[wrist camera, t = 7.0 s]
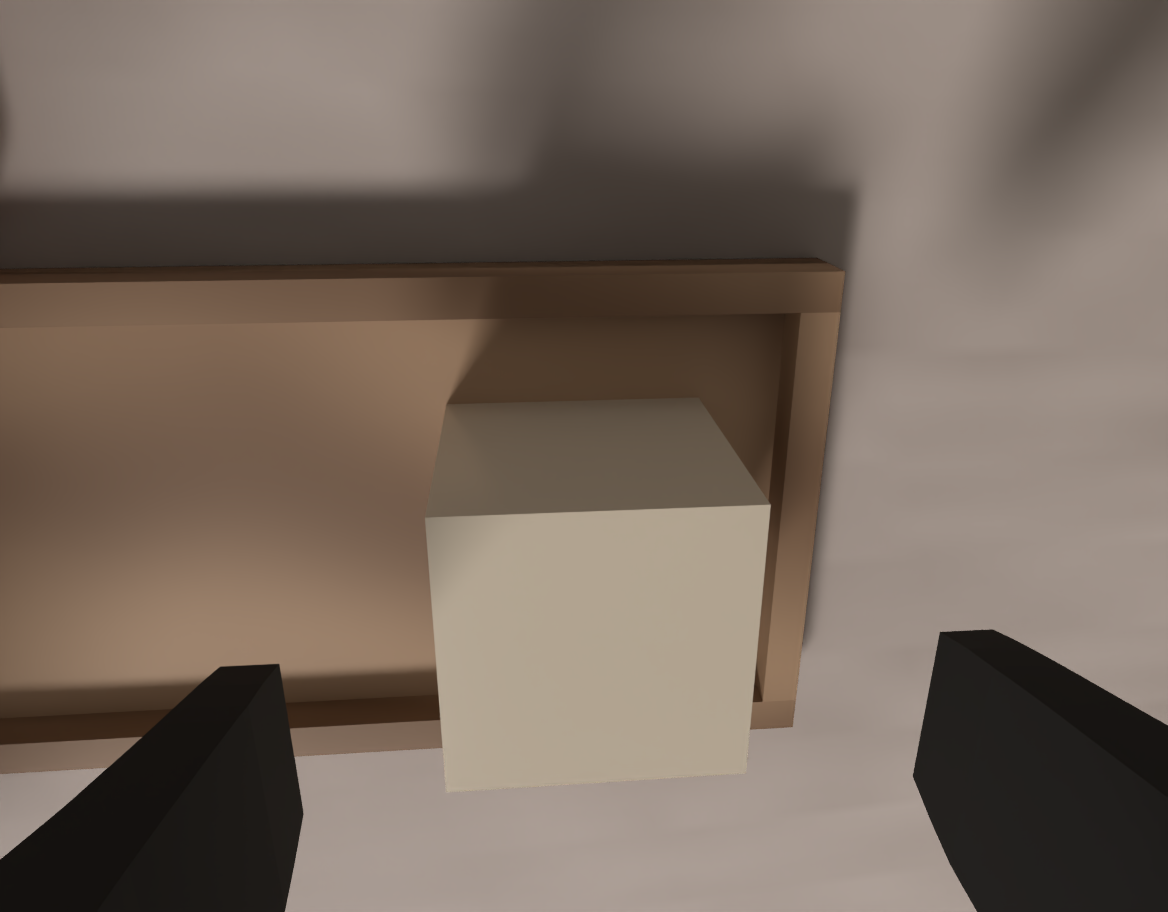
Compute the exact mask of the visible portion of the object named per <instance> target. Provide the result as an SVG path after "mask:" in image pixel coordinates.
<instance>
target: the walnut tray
mask: <svg viewBox="0 0 1168 912" xmlns="http://www.w3.org/2000/svg"><path fill="white" fill-rule="evenodd" d="M844 278H845V271H843V270H841V269H839V268H837V267H835V266H833V265H831V264H829V263H827V262H825V261H823V260H821V259H818V258H774V259H700V260H625V261H551V262H477V263H402V264H328V265H253V266H179V267H105V268H30V269H0V774H9V773H26V772H42V771H59V770H76V769H93V768H108V767H109V766H111V765H112V764H113V763H114V762H115V761H116V760H117V759H118V758H119V757H121V756H122V755H123V754H124V753H125V752H126V751H127V750H128V749H130V748H131V747H132V746H133V745H134V744H135V743H136V742H137V741H138V740H139V739H141V738H142V737H143V736H144V735H145V734H146V733H147V732H148V731H149V730H150V729H151V728H153V727H154V726H155V725H156V724H157V723H158V722H159V721H160V720H161V719H162V718H163V717H164V716H166V715H167V714H168V713H169V712H170V711H171V710H172V709H173V708H174V707H175V706H176V705H177V704H179V703H180V702H181V701H182V700H183V699H184V698H185V697H186V696H187V695H188V694H189V693H191V692H192V691H193V690H194V689H195V688H196V687H197V686H198V685H199V684H200V683H202V682H203V681H204V680H205V679H206V678H207V677H208V676H210V675H211V674H212V673H213V672H214V671H215V670H217V669H218V668H219V667H221V666H242V665H263V664H279V665H280V671H281V677H282V683H283V689H284V696H285V702H286V708H287V714H288V721H289V727H290V733H291V739H292V745H293V752H294V757H295V756H312V755H329V754H346V753H363V752H380V751H396V750H413V749H430V748H443V746H442V733H441V720H440V707H439V694H438V681H437V668H436V655H435V642H434V629H433V616H432V603H431V590H430V577H429V564H428V551H427V538H426V525H425V515H426V509H427V504H428V499H429V494H430V488H431V483H432V478H433V472H434V467H435V462H436V457H437V451H438V446H439V441H440V435H441V430H442V425H443V419H444V414H445V409H446V404H475V403H512V402H549V401H586V400H624V399H661V398H698V397H699V399H700V400H701V402H702V403H703V405H704V406H705V408H706V409H707V411H708V412H709V414H710V415H711V417H712V418H713V420H714V421H715V423H716V424H717V426H718V427H719V429H720V430H721V432H722V433H723V435H724V436H725V437H726V439H727V440H728V442H729V443H730V445H731V446H732V448H733V449H734V451H735V452H736V454H737V455H738V457H739V458H740V460H741V461H742V463H743V464H744V466H745V467H746V469H747V470H748V472H749V473H750V475H751V476H752V478H753V479H754V481H755V482H756V483H757V485H758V486H759V488H760V489H761V491H762V492H763V494H764V495H765V497H766V498H767V500H768V501H769V503H770V504H771V508H770V519H769V529H768V540H767V551H766V562H765V573H764V583H763V594H762V605H761V616H760V627H759V637H758V648H757V659H756V670H755V681H754V691H753V702H752V713H751V724H750V729H767V728H784V727H793V718H794V710H795V701H796V692H797V684H798V675H799V667H800V658H801V649H802V641H803V632H804V623H805V615H806V606H807V598H808V589H809V580H810V572H811V563H812V554H813V546H814V537H815V528H816V520H817V511H818V503H819V494H820V485H821V477H822V468H823V459H824V451H825V442H826V434H827V425H828V416H829V408H830V399H831V390H832V382H833V373H834V364H835V356H836V347H837V339H838V330H839V321H840V313H841V304H842V295H843V287H844Z"/></svg>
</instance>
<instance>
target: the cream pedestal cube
mask: <svg viewBox="0 0 1168 912" xmlns="http://www.w3.org/2000/svg"><path fill="white" fill-rule="evenodd" d="M770 508H771V504H770V503H769V501H768V500H767V498H766V497H765V495H764V494H763V492H762V491H761V489H760V488H759V486H758V485H757V483H756V482H755V481H754V479H753V478H752V476H751V475H750V473H749V472H748V470H747V469H746V467H745V466H744V464H743V463H742V461H741V460H740V458H739V457H738V455H737V454H736V452H735V451H734V449H733V448H732V446H731V445H730V443H729V442H728V440H727V439H726V437H725V436H724V435H723V433H722V432H721V430H720V429H719V427H718V426H717V424H716V423H715V421H714V420H713V418H712V417H711V415H710V414H709V412H708V411H707V409H706V408H705V406H704V405H703V403H702V402H701V400H700V399H699V397H698V398H661V399H624V400H586V401H549V402H512V403H475V404H446V409H445V414H444V419H443V425H442V430H441V435H440V441H439V446H438V451H437V457H436V462H435V467H434V472H433V478H432V483H431V488H430V494H429V499H428V504H427V509H426V515H425V525H426V538H427V551H428V564H429V577H430V590H431V603H432V616H433V629H434V642H435V655H436V668H437V681H438V694H439V707H440V720H441V733H442V746H443V759H444V772H445V785H446V792H460V791H476V790H492V789H508V788H523V787H539V786H555V785H571V784H586V783H602V782H618V781H634V780H649V779H665V778H681V777H696V776H712V775H728V774H744V773H746V767H747V756H748V745H749V735H750V724H751V713H752V702H753V691H754V681H755V670H756V659H757V648H758V637H759V627H760V616H761V605H762V594H763V583H764V573H765V562H766V551H767V540H768V529H769V519H770Z"/></svg>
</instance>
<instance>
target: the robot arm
mask: <svg viewBox="0 0 1168 912" xmlns="http://www.w3.org/2000/svg"><path fill="white" fill-rule="evenodd" d="M913 778H914V780H915V783H916V785H917V788H918V790H919V793H920V795H921V798H922V800H923V803H924V805H925V807H926V810H927V812H928V815H929V817H930V820H931V822H932V825H933V827H934V829H935V831H936V834H937V836H938V838H939V840H940V843H941V845H942V847H943V849H944V852H945V854H946V856H947V858H948V860H949V863H950V865H951V866H952V868H953V870H954V872H955V874H956V875H957V877H958V879H959V881H960V883H961V884H962V886H963V888H964V890H965V891H966V893H967V895H968V897H969V898H970V900H971V902H972V904H973V905H974V907H975V909H976V911H977V912H1168V725H1166V724H1164V723H1162V722H1161V721H1159V720H1157V719H1155V718H1153V717H1152V716H1150V715H1148V714H1146V713H1145V712H1143V711H1141V710H1139V709H1138V708H1136V707H1134V706H1132V705H1131V704H1129V703H1127V702H1125V701H1124V700H1122V699H1120V698H1118V697H1117V696H1115V695H1113V694H1111V693H1109V692H1108V691H1106V690H1104V689H1102V688H1101V687H1099V686H1097V685H1095V684H1094V683H1092V682H1090V681H1088V680H1087V679H1085V678H1083V677H1081V676H1080V675H1078V674H1076V673H1074V672H1073V671H1071V670H1069V669H1067V668H1066V667H1064V666H1062V665H1060V664H1058V663H1057V662H1055V661H1053V660H1051V659H1049V658H1048V657H1046V656H1044V655H1042V654H1040V653H1038V652H1037V651H1035V650H1033V649H1031V648H1029V647H1027V646H1025V645H1023V644H1021V643H1020V642H1018V641H1016V640H1014V639H1012V638H1010V637H1007V636H1005V635H1003V634H1001V633H999V632H997V631H995V630H973V631H952V632H940V635H939V640H938V646H937V651H936V656H935V662H934V667H933V672H932V677H931V683H930V688H929V693H928V699H927V704H926V709H925V715H924V720H923V725H922V730H921V736H920V741H919V746H918V752H917V757H916V762H915V768H914V773H913ZM302 819H303V808H302V801H301V795H300V789H299V783H298V776H297V770H296V764H295V758H294V752H293V745H292V739H291V733H290V727H289V721H288V714H287V708H286V702H285V696H284V689H283V683H282V677H281V671H280V665H279V664H263V665H242V666H221V667H219V668H218V669H217V670H215V671H214V672H213V673H212V674H211V675H210V676H208V677H207V678H206V679H205V680H204V681H203V682H202V683H200V684H199V685H198V686H197V687H196V688H195V689H194V690H193V691H192V692H191V693H189V694H188V695H187V696H186V697H185V698H184V699H183V700H182V701H181V702H180V703H179V704H177V705H176V706H175V707H174V708H173V709H172V710H171V711H170V712H169V713H168V714H167V715H166V716H164V717H163V718H162V719H161V720H160V721H159V722H158V723H157V724H156V725H155V726H154V727H153V728H151V729H150V730H149V731H148V732H147V733H146V734H145V735H144V736H143V737H142V738H141V739H139V740H138V741H137V742H136V743H135V744H134V745H133V746H132V747H131V748H130V749H128V750H127V751H126V752H125V753H124V754H123V755H122V756H121V757H119V758H118V759H117V760H116V761H115V762H114V763H113V764H112V765H111V766H109V767H108V768H107V769H106V770H105V771H104V772H103V773H102V774H100V775H99V776H98V777H97V778H96V779H95V780H94V781H93V782H91V783H90V784H89V785H88V786H87V787H86V788H85V789H84V790H83V791H81V792H80V793H79V794H78V795H77V796H76V797H75V798H74V799H72V800H71V801H70V802H69V803H68V804H67V805H66V806H64V807H63V808H62V809H61V810H60V811H59V812H57V813H56V814H55V815H54V816H53V817H51V818H50V819H49V820H48V821H47V822H45V823H44V824H43V825H42V826H40V827H39V828H38V829H37V830H36V831H34V832H33V833H32V834H31V835H30V836H28V837H27V838H26V839H25V840H23V841H22V842H21V843H20V844H19V845H17V846H16V847H15V848H14V849H13V850H11V851H10V852H9V853H8V854H7V855H5V856H4V857H3V858H2V859H0V912H285V908H286V903H287V898H288V893H289V888H290V883H291V878H292V873H293V868H294V863H295V858H296V852H297V847H298V841H299V836H300V830H301V825H302Z"/></svg>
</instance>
